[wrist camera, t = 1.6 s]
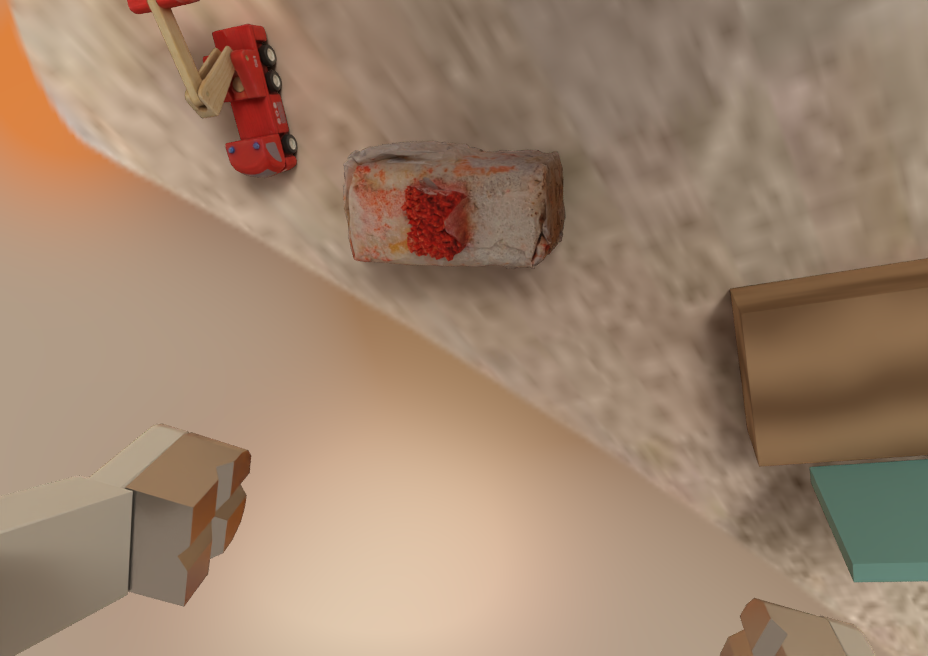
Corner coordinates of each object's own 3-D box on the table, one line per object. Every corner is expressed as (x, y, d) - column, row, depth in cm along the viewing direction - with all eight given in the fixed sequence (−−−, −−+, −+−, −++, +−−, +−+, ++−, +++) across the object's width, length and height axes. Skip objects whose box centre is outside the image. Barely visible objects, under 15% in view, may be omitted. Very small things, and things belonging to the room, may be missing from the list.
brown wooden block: (730, 288, 43) (741, 313, 38) (1054, 238, 37) (1112, 261, 33) (747, 428, 46) (759, 466, 42) (1047, 402, 40) (1099, 443, 36)
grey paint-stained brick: (388, 246, 48) (332, 284, 39) (376, 138, 45) (313, 153, 36) (566, 246, 45) (549, 288, 36) (566, 129, 42) (547, 144, 33)
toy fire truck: (265, 175, 48) (184, 196, 40) (215, -23, 44) (111, -47, 35) (303, 169, 47) (229, 190, 39) (256, -33, 43) (159, -61, 34)
